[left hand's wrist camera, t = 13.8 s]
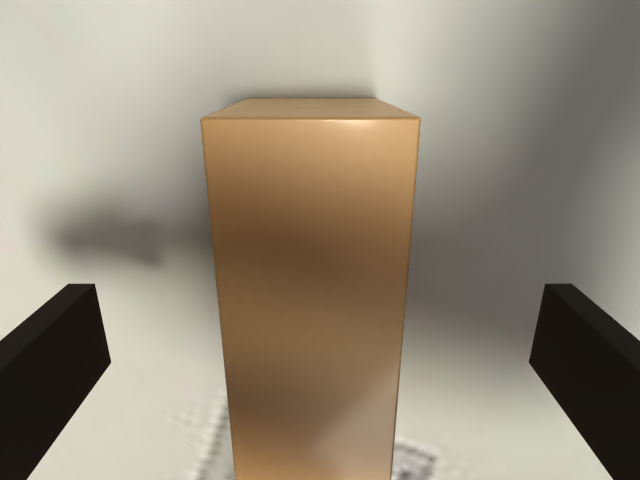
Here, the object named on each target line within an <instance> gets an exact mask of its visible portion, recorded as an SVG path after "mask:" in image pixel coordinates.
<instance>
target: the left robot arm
mask: <svg viewBox="0 0 640 480" xmlns="http://www.w3.org/2000/svg"><path fill="white" fill-rule="evenodd" d="M110 363H111V359H110V355H109V350H108V345H107V340H106V335H105V331H104V326H103V321H102V316H101V312H100V307H99V302H98V297H97V292H96V288H95V284H68V285H66V286H65V287H64V288H63V289H62V290H60V291H59V292H58V293H57V294H56V295H54V296H53V297H52V298H51V299H50V300H48V301H47V302H46V303H45V304H44V305H43V306H41V307H40V308H39V309H38V310H37V311H35V312H34V313H33V314H32V315H31V316H29V317H28V318H27V319H26V320H25V321H23V322H22V323H21V324H20V325H19V326H17V327H16V328H15V329H14V330H13V331H11V332H10V333H9V334H8V335H7V336H6V337H4V338H3V339H2V340H1V341H0V480H27V478H28V477H29V476H30V474H31V473H32V471H33V470H34V469H35V467H36V466H37V465H38V463H39V462H40V460H41V459H42V458H43V456H44V455H45V453H46V452H47V451H48V449H49V448H50V447H51V445H52V444H53V442H54V441H55V440H56V438H57V437H58V435H59V434H60V433H61V431H62V430H63V429H64V427H65V426H66V424H67V423H68V422H69V420H70V419H71V417H72V416H73V415H74V413H75V412H76V410H77V409H78V408H79V406H80V405H81V404H82V402H83V401H84V399H85V398H86V397H87V395H88V394H89V392H90V391H91V390H92V388H93V387H94V386H95V384H96V383H97V381H98V380H99V379H100V377H101V376H102V374H103V373H104V372H105V370H106V369H107V368H108V366H109V365H110ZM529 363H530V365H531V366H532V368H533V369H534V370H535V372H536V373H537V374H538V376H539V377H540V379H541V380H542V381H543V383H544V384H545V386H546V387H547V388H548V390H549V391H550V392H551V394H552V395H553V397H554V398H555V399H556V401H557V402H558V404H559V405H560V406H561V408H562V409H563V410H564V412H565V413H566V415H567V416H568V417H569V419H570V420H571V422H572V423H573V424H574V426H575V427H576V429H577V430H578V431H579V433H580V434H581V435H582V437H583V438H584V440H585V441H586V442H587V444H588V445H589V447H590V448H591V449H592V451H593V452H594V453H595V455H596V456H597V458H598V459H599V460H600V462H601V463H602V465H603V466H604V467H605V469H606V470H607V471H608V473H609V474H610V476H611V477H612V478H613V480H640V341H639V340H638V339H637V338H636V337H634V336H633V335H632V334H631V333H630V332H629V331H627V330H626V329H625V328H624V327H623V326H621V325H620V324H619V323H618V322H617V321H615V320H614V319H613V318H612V317H611V316H609V315H608V314H607V313H606V312H605V311H603V310H602V309H601V308H600V307H599V306H597V305H596V304H595V303H594V302H593V301H592V300H590V299H589V298H588V297H587V296H586V295H584V294H583V293H582V292H581V291H580V290H578V289H577V288H576V287H575V286H574V285H572V284H545V288H544V292H543V297H542V302H541V307H540V311H539V316H538V321H537V326H536V331H535V335H534V340H533V345H532V350H531V355H530V359H529Z"/></svg>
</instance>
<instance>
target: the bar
mask: <svg viewBox="0 0 640 480" xmlns="http://www.w3.org/2000/svg"><path fill="white" fill-rule="evenodd" d="M200 121H201V131H202V141H203V151H204V162H205V172H206V182H207V193H208V203H209V213H210V223H211V234H212V244H213V254H214V265H215V275H216V285H217V295H218V306H219V316H220V326H221V337H222V347H223V357H224V367H225V378H226V388H227V398H228V409H229V419H230V429H231V439H232V450H233V460H234V470H235V480H391V475H392V463H393V451H394V439H395V427H396V414H397V402H398V390H399V378H400V366H401V353H402V341H403V329H404V317H405V305H406V293H407V280H408V268H409V256H410V244H411V232H412V219H413V207H414V195H415V183H416V171H417V158H418V146H419V134H420V122H421V120H420V117H417V116H415V115H413V114H411V113H408V112H406V111H404V110H401V109H399V108H397V107H395V106H392V105H390V104H388V103H386V102H383V101H381V100H379V99H377V98H247V99H245V100H243V101H240V102H238V103H235V104H233V105H231V106H228V107H226V108H224V109H221V110H219V111H216V112H214V113H212V114H209V115H207V116H204V117H202V118H201V120H200Z"/></svg>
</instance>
